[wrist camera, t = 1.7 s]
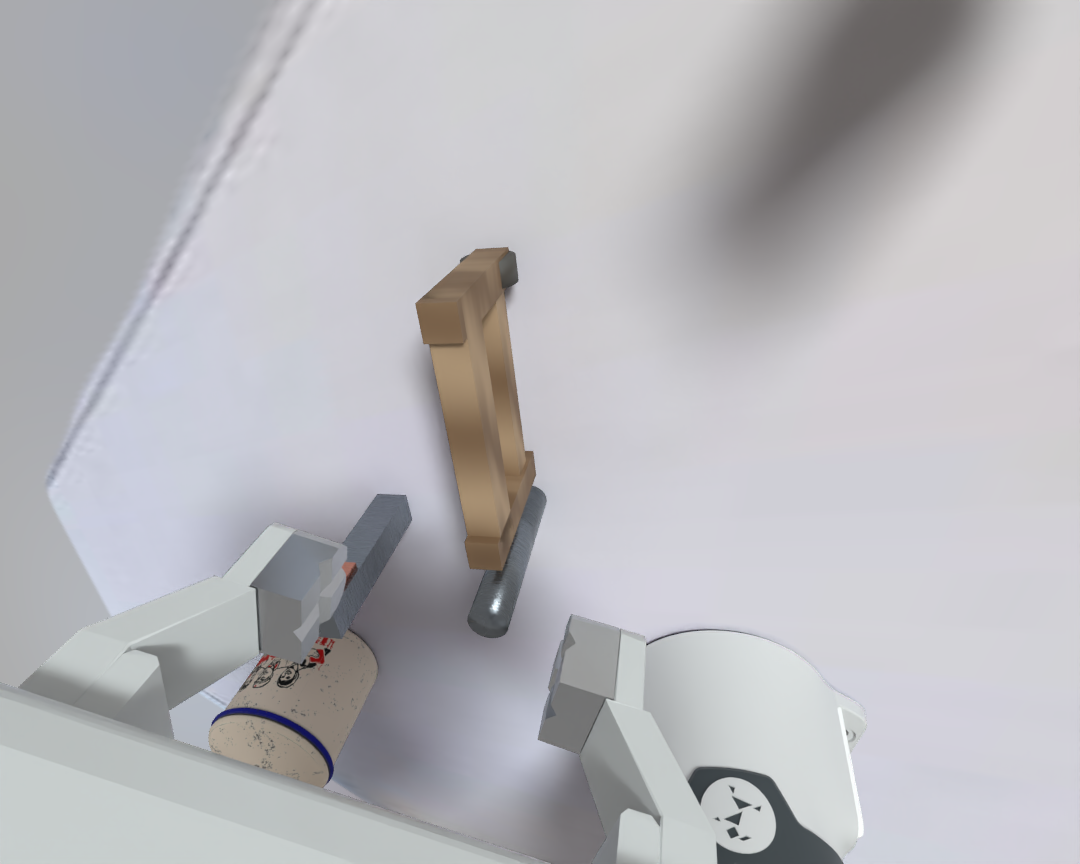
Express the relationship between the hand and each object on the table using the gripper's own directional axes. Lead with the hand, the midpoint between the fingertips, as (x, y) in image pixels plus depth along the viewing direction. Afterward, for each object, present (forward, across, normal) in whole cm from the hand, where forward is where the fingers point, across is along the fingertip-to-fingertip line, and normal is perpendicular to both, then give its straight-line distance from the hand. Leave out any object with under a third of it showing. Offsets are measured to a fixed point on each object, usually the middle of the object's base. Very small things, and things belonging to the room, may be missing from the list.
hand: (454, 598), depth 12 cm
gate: (+20, +3, +5) cm, 21 cm away
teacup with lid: (+21, +14, +36) cm, 44 cm away
